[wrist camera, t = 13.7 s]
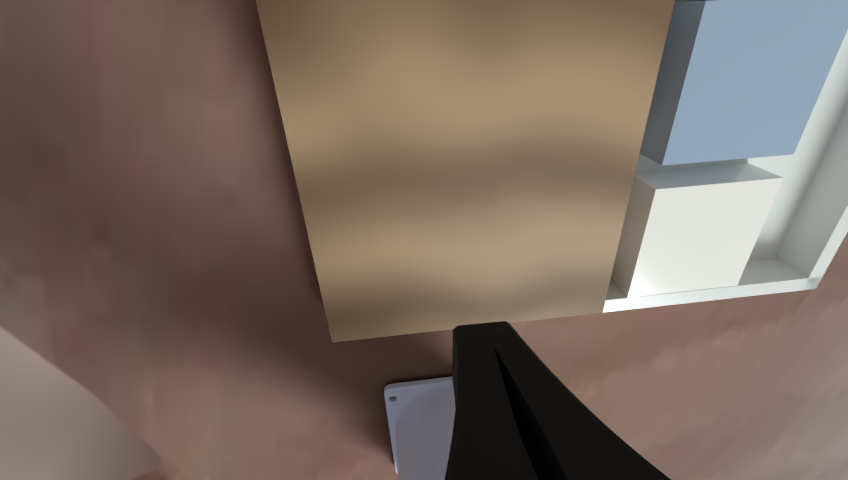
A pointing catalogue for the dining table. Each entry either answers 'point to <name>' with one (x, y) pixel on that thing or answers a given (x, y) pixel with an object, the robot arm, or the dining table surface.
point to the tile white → (691, 228)
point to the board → (462, 151)
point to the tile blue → (740, 77)
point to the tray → (785, 207)
